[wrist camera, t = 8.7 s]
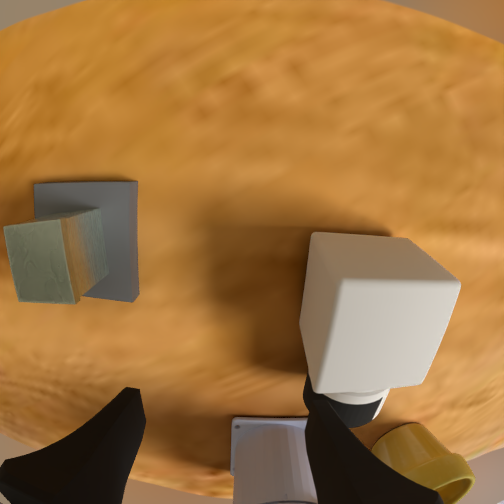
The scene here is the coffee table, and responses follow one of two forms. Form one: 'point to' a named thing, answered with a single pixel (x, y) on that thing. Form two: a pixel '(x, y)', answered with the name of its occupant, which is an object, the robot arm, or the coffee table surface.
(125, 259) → the block
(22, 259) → the grey green cube
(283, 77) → the coffee table surface
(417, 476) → the plant pot
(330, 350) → the medicine bottle
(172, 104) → the coffee table surface
